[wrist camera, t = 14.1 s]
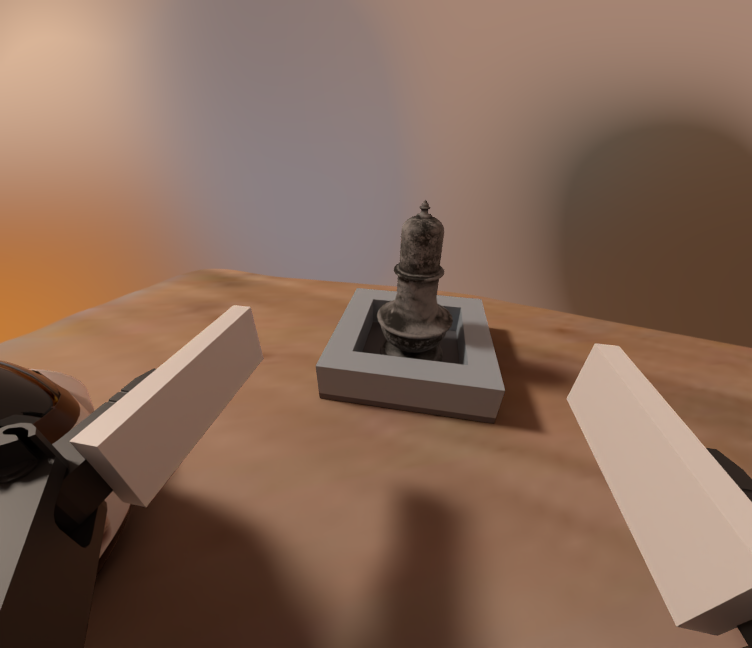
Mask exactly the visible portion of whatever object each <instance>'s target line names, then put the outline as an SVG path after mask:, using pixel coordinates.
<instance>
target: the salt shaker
mask: <svg viewBox="0 0 752 648" xmlns="http://www.w3.org/2000/svg"><path fill="white" fill-rule="evenodd" d="M420 209H421V213H419V214H417V215H416V216H414V217H412V218H410V219H408V220H407V221H406V222H405V223H404V224H403V227H402V234H401V251H400V263H399V264H397V265H396V266H395V267H394V272H395V273H396V274H397V275H398V284H397V294H396V298H395V300H393V301H390V302H387V303H386V304H384V305H383V306H382V307H381V308H380V309H379V310H378V313H377V319H378V322H379V323H380V325H381V328H382V331H383V334H384V336H385V338H386V340H385V341H383V343H382V345H381V347H380V354H381V355H388V356H396V357H404V358H413V359H421V360H429V361H437V362H441V361H442V358H443V352H442V349H441V347H440V345H439V343H440V342H441V341H442V339H443V338H444V337H445V335H446V332H447V331H448V330H449V329H450V328H451V326H452V323H453V319H452V315H451V314H450V312H449V311H448V310H447V309H446V308H444V307H443V306H441V305H439V304H437V289H438V282H439V278H441V277H442V276H443V275H444V270H443V268H442V267H441V266H440V259H441V252H442V244H443V237H444V227H443V225H442V223H441V222H440V221H439V220H438V219H436V218H435V217H432V215H431V214H428V209H430V207H429V204H428V203H427V201H426V200H425V201H424V203H422V206H420Z"/></svg>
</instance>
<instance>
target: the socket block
mask: <svg viewBox="0 0 752 648" xmlns="http://www.w3.org/2000/svg"><path fill="white" fill-rule="evenodd" d="M396 294H397V292H395V291H383V290H372V289H361V288H357V289H356V291H355V293H354V295H353V297H352V299H351V301H350V302H349V304H348V306H347V308H346V310H345V312H344V314H343V316H342V317H341V319H340V321H339V323H338V325H337V327H336V329H335V331H334V332H333V334H332V336H331V338H330V340H329V342H328V344H327V346H326V348H325V349H324V351H323V353H322V355H321V357H320V359H319V361H318V363H317V364H316V372H317V380H318V388H319V396H320V398H324V399H331V400H337V401H344V402H351V403H358V404H365V405H372V406H378V407H385V408H392V409H399V410H406V411H413V412H419V413H426V414H433V415H440V416H447V417H454V418H460V419H467V420H474V421H481V422H488V423H494V422H495V419H496V416H497V413H498V410H499V407H500V404H501V401H502V398H503V396H504V393H505V388H504V384H503V380H502V377H501V373H500V369H499V365H498V361H497V358H496V354H495V350H494V346H493V342H492V338H491V335H490V331H489V327H488V323H487V319H486V315H485V312H484V308H483V304H482V300H481V299H473V298H461V297H450V296H439V295H437V304H439V305H441V306H443V307H444V308H446V309H447V310H448V311H449V312H450V314H451V315H452V319H453V323H452V326H451V328H450V329H449V330H448V331H447V332H446V335H445V337H444V338H443V339H442V341H441V342H440V343H439V345H440V347H441V349H442V352H443V358H442V361H441V362H437V361H429V360H421V359H413V358H404V357H396V356H388V355H381V354H380V347H381V345H382V343H383V341H385V340H386V338H385V336H384V334H383V331H382V328H381V325H380V323H379V322H378V319H377V313H378V310H379V309H380V308H381V307H382V306H383V305H384V304H386V303H387V302H390V301H393V300H395V298H396Z"/></svg>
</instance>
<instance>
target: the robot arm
mask: <svg viewBox="0 0 752 648" xmlns="http://www.w3.org/2000/svg"><path fill="white" fill-rule="evenodd" d="M263 359H264V358H263V354H262V350H261V346H260V343H259V339H258V335H257V331H256V327H255V323H254V319H253V315H252V311H251V307H245V306H236V305H233V306H232V307H231V308H230V309H229V310H227V311H226V312H225V313H224V314H223V315H221V316H220V317H219V318H218V319H217V320H215V321H214V322H213V323H212V324H210V325H209V326H208V327H207V328H206V329H204V330H203V331H202V332H201V333H200V334H198V335H197V336H196V337H195V338H194V339H192V340H191V341H190V342H189V343H187V344H186V345H185V346H184V347H183V348H181V349H180V350H179V351H178V352H177V353H175V354H174V355H173V356H172V357H171V358H169V359H168V360H167V361H166V362H164V363H163V364H162V365H161V366H160V367H158V368H157V369H152V370H150V371H148V372H146V373H144V374H142V375H141V376H139V377H137V378H135V379H134V380H133V381H131V382H130V383H129V384H128V385H126V386H125V387H124V388H123V389H121V392H118V393H116V394H115V395H114V396H113V397H111V398H110V399H109V401H108V402H105V403H104V404H103V405H101V406H100V407H99V408H98V409H96V410H95V411H94V412H93V413H91V414H90V415H89V416H88V417H86V418H85V419H84V420H83V421H81V422H80V423H79V424H78V425H76V426H75V427H74V428H73V429H71V430H70V431H69V432H68V433H66V434H65V435H64V436H63V437H61V438H60V439H59V440H58V441H56V442H55V443H53V444H51V443H50V442H49V441H48V440H47V439H46V438H45V436H44V435H43V434H42V433H41V432H40V431H39V430H38V429H37V428H36V427H35V426H34V425H32V424H31V423H17V424H12V425H7V426H4V427H2V428H0V648H84V643H85V637H86V631H87V625H88V620H89V614H90V608H91V602H92V596H93V591H94V585H95V579H96V573H97V568H98V562H99V556H100V550H101V544H102V539H103V533H104V527H105V521H106V516H107V502H106V501H105V499H106V498H107V497H108V496H109V494H110V493H111V492H112V491H113V492H114V493H115V494H116V495H117V496H118V497H119V499H120V500H121V501H122V502H124V503H129V504H133V505H138V506H142V507H147V506H148V505H149V503H150V502H151V501H152V499H153V498H154V497H155V496H156V494H157V493H158V492H159V491H160V489H161V488H162V487H163V486H164V484H165V483H166V482H167V480H168V479H169V478H170V477H171V475H172V474H173V473H174V472H175V470H176V469H177V468H178V466H179V465H180V464H181V463H182V461H183V460H184V459H185V458H186V456H187V455H188V454H189V453H190V451H191V450H192V449H193V447H194V446H195V445H196V444H197V442H198V441H199V440H200V439H201V437H202V436H203V435H204V434H205V432H206V431H207V430H208V428H209V427H210V426H211V425H212V423H213V422H214V421H215V420H216V418H217V417H218V416H219V414H220V413H221V412H222V411H223V409H224V408H225V407H226V406H227V404H228V403H229V402H230V401H231V399H232V398H233V397H234V395H235V394H236V393H237V392H238V390H239V389H240V388H241V387H242V385H243V384H244V383H245V381H246V380H247V379H248V378H249V376H250V375H251V374H252V373H253V371H254V370H255V369H256V368H257V366H258V365H259V364H260V362H261V361H262V360H263ZM567 401H568V403H569V405H570V407H571V409H572V411H573V413H574V415H575V417H576V419H577V421H578V423H579V425H580V428H581V430H582V432H583V434H584V436H585V438H586V440H587V442H588V444H589V446H590V448H591V450H592V452H593V454H594V457H595V459H596V461H597V463H598V465H599V467H600V469H601V471H602V473H603V475H604V477H605V479H606V481H607V483H608V486H609V488H610V490H611V492H612V494H613V496H614V498H615V500H616V502H617V504H618V506H619V508H620V510H621V512H622V515H623V517H624V519H625V521H626V523H627V525H628V527H629V529H630V531H631V533H632V535H633V537H634V539H635V541H636V544H637V546H638V548H639V550H640V552H641V554H642V556H643V558H644V560H645V562H646V564H647V566H648V568H649V570H650V573H651V575H652V577H653V579H654V581H655V583H656V585H657V587H658V589H659V591H660V593H661V595H662V597H663V599H664V602H665V604H666V606H667V608H668V610H669V612H670V614H671V616H672V618H673V620H674V622H675V624H676V626H677V627H681V628H686V629H690V630H694V631H699V632H703V633H708V634H712V635H717V636H718V635H720V634H722V633H725V632H727V631H730V630H732V629H734V628H737V627H738V629H739V630H740V632H741V634H742V635H743V637H744V639H745V640H746V642H747V644H748V645H749V646H746V647H743V648H752V479H751V478H750V477H749V476H748V475H747V474H746V473H745V472H744V470H743V469H741V468H740V467H739V466H737V465H736V464H735V463H734V462H732V461H731V460H730V459H728V458H727V457H726V456H724V455H723V454H722V453H721V452H719V451H718V450H717V449H710V448H705V447H704V445H703V444H702V443H701V442H700V441H699V440H698V438H697V437H696V436H695V435H694V434H693V432H692V431H691V430H690V429H689V428H688V427H687V425H686V424H685V423H684V422H683V421H682V420H681V418H680V417H679V416H678V415H677V414H676V413H675V411H674V410H673V409H672V408H671V407H670V405H669V404H668V403H667V402H666V401H665V400H664V398H663V397H662V396H661V395H660V394H659V393H658V391H657V390H656V389H655V388H654V387H653V386H652V384H651V383H650V382H649V381H648V380H647V378H646V377H645V376H644V375H643V374H642V373H641V371H640V370H639V369H638V368H637V367H636V366H635V364H634V363H633V362H632V361H631V360H630V359H629V357H628V356H627V355H626V354H625V353H624V351H623V350H622V349H621V348H620V347H619V346H614V345H604V344H594V346H593V348H592V350H591V352H590V354H589V356H588V358H587V360H586V362H585V364H584V366H583V368H582V370H581V372H580V374H579V375H578V377H577V379H576V381H575V383H574V385H573V387H572V389H571V391H570V393H569V395H568V397H567Z"/></svg>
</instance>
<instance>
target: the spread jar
mask: <svg viewBox="0 0 752 648" xmlns="http://www.w3.org/2000/svg"><path fill="white" fill-rule="evenodd" d="M93 412H94V407H93V404H92V402H91V399H90V396H89V393H88V391H87V388H86V387H85V386H84V384H83V383H82V382H81V381H79V380H77V379H75V378H74V377H72V376H69V375H66V374H63V373H60V372H54V371H48V370H36V369H27V368H24V367H21V366H18V365H16V364H13V363H10V362H6V361H1V360H0V428H2V427H4V426H7V425H12V424H17V423H31V424H32V425H34V426H35V427H36V428H37V429H38V430H39V431H40V432H41V433H42V434H43V435H44V436H45V438H46V439H47V440H48V441H49V442H50V443H51V444H53V443H55V442H56V441H58V440H59V439H60V438H61V437H63V436H64V435H65V434H66V433H68V432H69V431H70V430H71V429H73V428H74V427H75V426H76V425H78V424H79V423H80V422H81V421H83V420H84V419H85V418H86V417H88V416H89V415H90V414H91V413H93ZM105 501H106V502H107V516H106V521H105V527H104V533H103V539H102V544H101V550H100V556H99V562H98V568H97V573H96V576H97V574H98V573H99V571H100V570H101V568H102V566H103V565H104V563H105V561H106V560H107V558H108V557H109V555H110V553H111V551H112V549H113V547H114V546H115V544H116V542H117V540H118V537H119V535H120V533H121V531H122V529H123V527H124V524H125V522H126V520H127V517H128V514H129V511H130V506H131V504H129V503H124V502H122V501H121V500H120V499H119V497H118V496H117V495H116V494H115V493H114V492H113V491H112V492H111V493H110V494H109V496H108V497H107V498H106V499H105Z"/></svg>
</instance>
